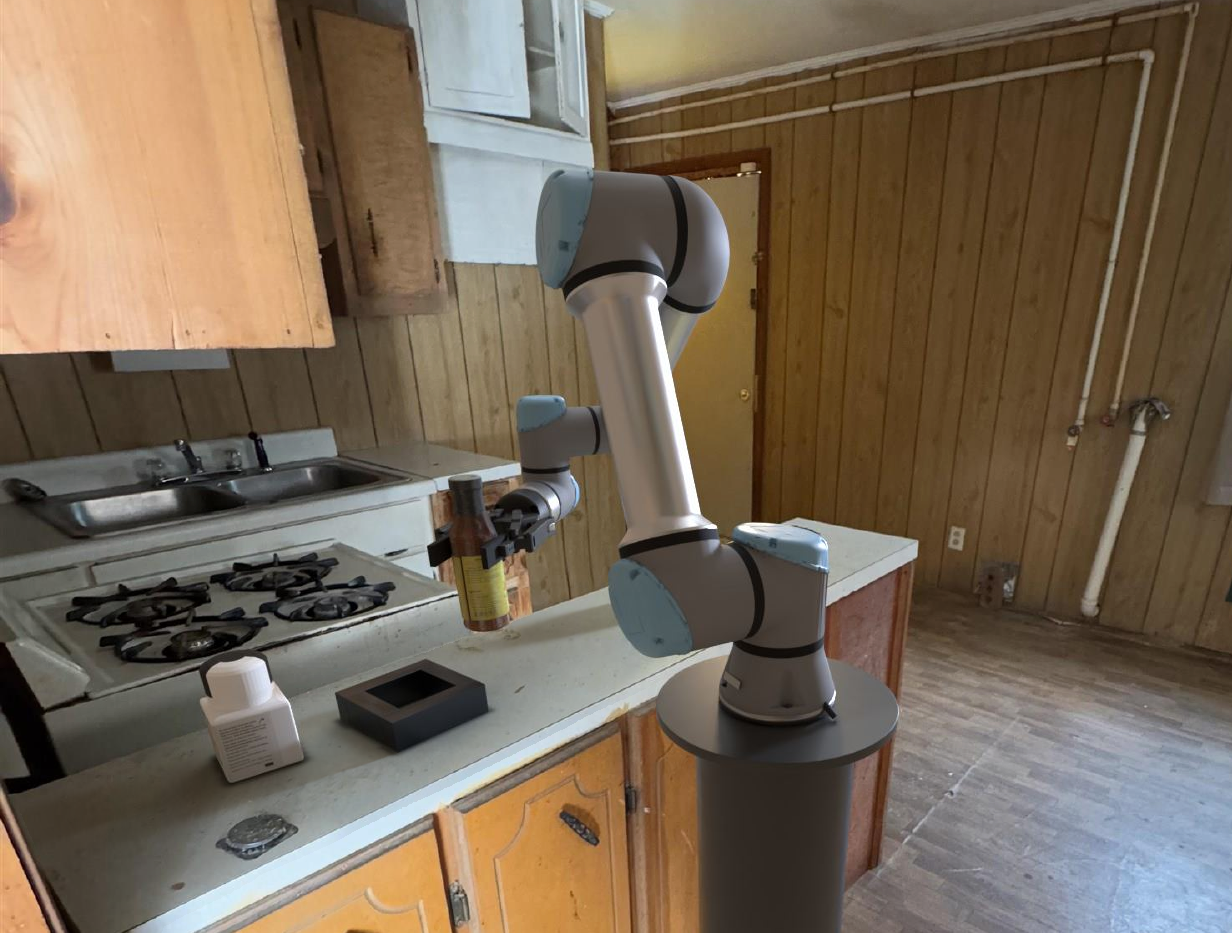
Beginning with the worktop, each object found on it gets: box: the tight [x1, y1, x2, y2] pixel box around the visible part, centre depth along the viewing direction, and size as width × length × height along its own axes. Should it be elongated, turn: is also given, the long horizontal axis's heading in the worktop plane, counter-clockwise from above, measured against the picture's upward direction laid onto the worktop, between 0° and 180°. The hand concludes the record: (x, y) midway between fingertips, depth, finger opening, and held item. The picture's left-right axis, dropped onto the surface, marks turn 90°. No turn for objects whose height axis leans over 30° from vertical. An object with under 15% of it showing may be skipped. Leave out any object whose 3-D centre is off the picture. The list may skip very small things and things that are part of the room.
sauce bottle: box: [447, 473, 511, 633], centre depth 101 cm, size 7×6×20 cm
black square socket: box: [334, 658, 489, 753], centre depth 99 cm, size 13×13×4 cm
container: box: [198, 649, 305, 784], centre depth 88 cm, size 8×8×13 cm
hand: (457, 557), depth 96 cm, fingers closed on sauce bottle, 6 cm apart
